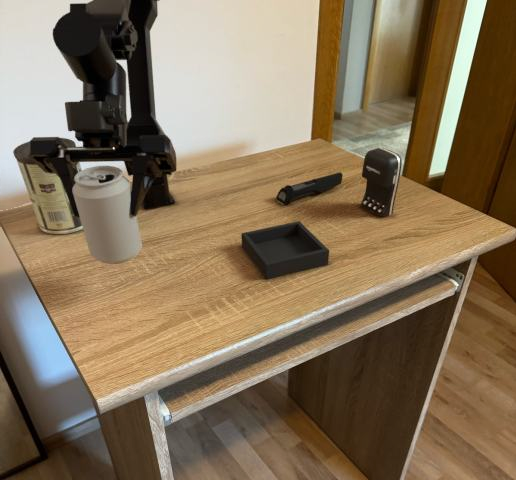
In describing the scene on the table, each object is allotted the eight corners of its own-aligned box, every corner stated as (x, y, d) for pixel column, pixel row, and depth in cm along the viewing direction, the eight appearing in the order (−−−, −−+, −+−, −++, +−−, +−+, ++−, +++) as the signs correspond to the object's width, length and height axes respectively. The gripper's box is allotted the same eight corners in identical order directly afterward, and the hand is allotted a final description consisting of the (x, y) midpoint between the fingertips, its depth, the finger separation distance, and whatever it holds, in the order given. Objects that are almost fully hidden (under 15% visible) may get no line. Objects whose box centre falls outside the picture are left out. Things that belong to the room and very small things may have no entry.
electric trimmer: (345, 189, 103) (347, 174, 101) (285, 206, 97) (286, 191, 95) (334, 183, 105) (335, 168, 103) (275, 199, 99) (275, 184, 97)
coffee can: (85, 205, 99) (66, 133, 89) (101, 225, 92) (82, 149, 83) (33, 218, 95) (7, 144, 85) (46, 240, 88) (19, 162, 79)
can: (132, 269, 68) (113, 187, 60) (82, 265, 69) (57, 183, 61) (150, 242, 74) (135, 163, 65) (104, 238, 75) (84, 160, 67)
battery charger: (354, 206, 96) (362, 148, 89) (369, 202, 98) (377, 144, 90) (378, 220, 92) (388, 160, 84) (393, 215, 93) (404, 155, 86)
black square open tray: (241, 247, 85) (241, 233, 83) (298, 234, 88) (299, 220, 86) (266, 279, 77) (266, 265, 76) (328, 264, 80) (329, 250, 79)
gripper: (6, 69, 59) (5, 196, 58) (160, 66, 59) (161, 193, 58) (46, 117, 70) (46, 224, 69) (176, 114, 70) (177, 222, 69)
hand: (105, 216), depth 66 cm, fingers closed on can, 7 cm apart
